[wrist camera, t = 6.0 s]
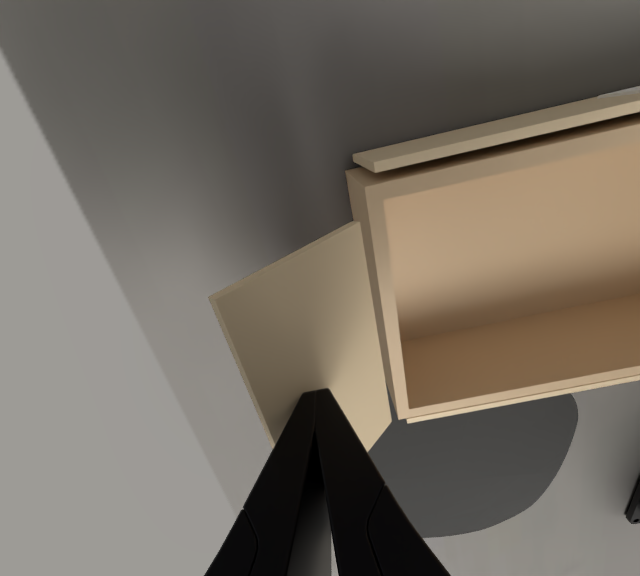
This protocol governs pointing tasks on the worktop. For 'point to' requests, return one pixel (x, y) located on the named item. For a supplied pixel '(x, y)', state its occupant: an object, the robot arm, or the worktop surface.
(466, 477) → the media streaming box
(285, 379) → the flap
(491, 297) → the carton
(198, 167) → the worktop surface
